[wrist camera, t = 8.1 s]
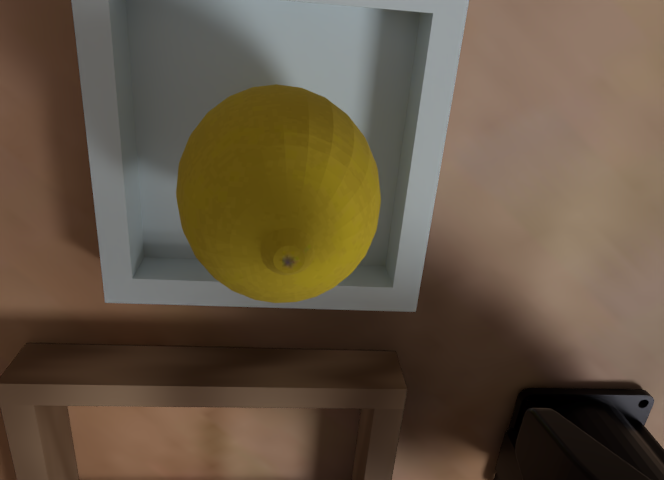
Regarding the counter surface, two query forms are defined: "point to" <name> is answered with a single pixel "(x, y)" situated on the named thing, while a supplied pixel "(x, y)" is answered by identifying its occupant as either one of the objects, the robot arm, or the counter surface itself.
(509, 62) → the counter surface
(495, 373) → the counter surface
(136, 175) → the dish
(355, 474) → the holder frame
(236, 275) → the lemon
